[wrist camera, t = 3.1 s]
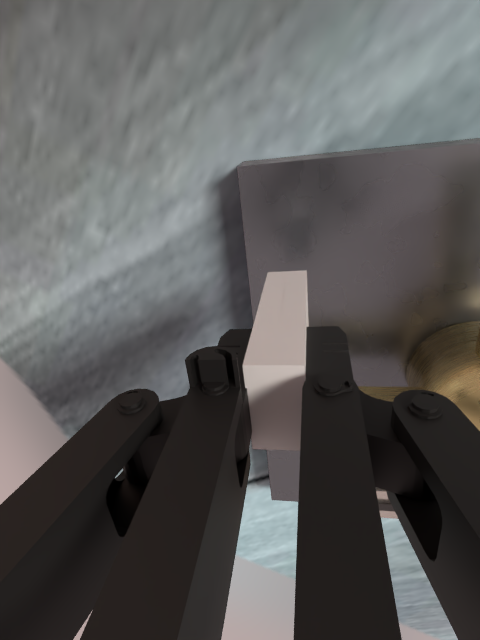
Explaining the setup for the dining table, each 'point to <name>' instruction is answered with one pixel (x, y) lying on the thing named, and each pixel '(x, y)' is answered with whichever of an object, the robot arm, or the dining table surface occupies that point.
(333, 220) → the stand
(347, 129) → the dining table surface
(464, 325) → the capstan
